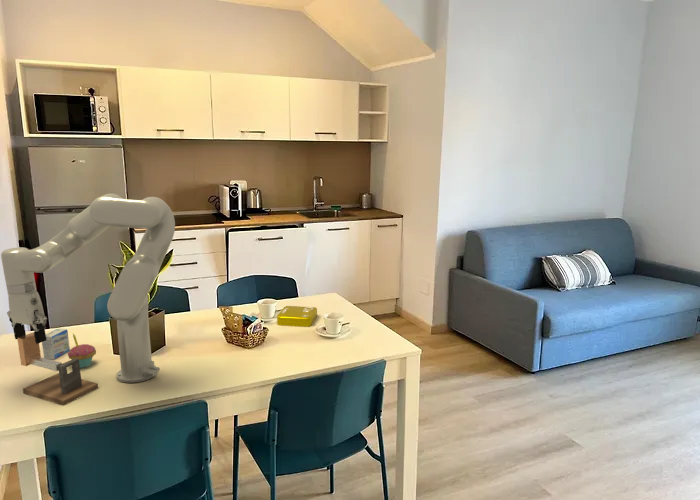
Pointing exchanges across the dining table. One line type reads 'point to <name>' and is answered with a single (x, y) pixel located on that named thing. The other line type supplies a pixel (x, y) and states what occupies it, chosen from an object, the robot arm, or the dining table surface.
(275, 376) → the dining table surface
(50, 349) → the medicine box
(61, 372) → the eye board
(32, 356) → the tan grey angled piece
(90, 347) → the cupcake
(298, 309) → the element tile
